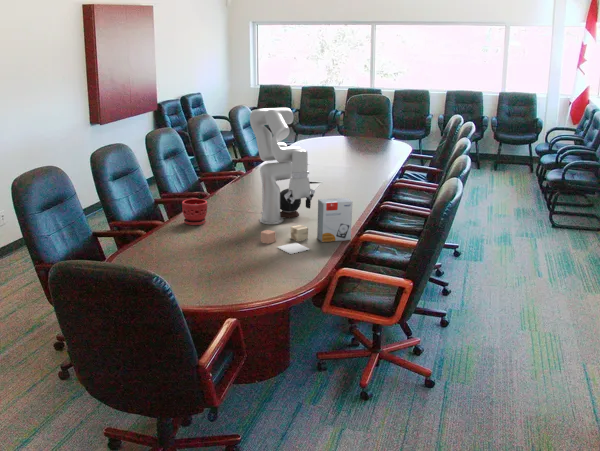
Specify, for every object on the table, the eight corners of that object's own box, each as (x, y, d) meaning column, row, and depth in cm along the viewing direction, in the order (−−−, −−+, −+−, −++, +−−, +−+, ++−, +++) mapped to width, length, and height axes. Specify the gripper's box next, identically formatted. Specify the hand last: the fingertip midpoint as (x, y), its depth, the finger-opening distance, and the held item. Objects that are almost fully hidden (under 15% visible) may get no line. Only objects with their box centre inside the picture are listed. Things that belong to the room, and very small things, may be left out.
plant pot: (205, 226, 342) (205, 204, 338) (180, 226, 342) (179, 204, 338) (209, 219, 354) (208, 198, 350) (185, 219, 354) (184, 197, 351)
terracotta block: (260, 241, 320) (260, 232, 318) (267, 239, 323) (267, 229, 322) (268, 244, 317) (268, 234, 315) (275, 241, 320) (275, 231, 319)
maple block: (290, 238, 325) (290, 226, 323) (300, 236, 328) (300, 224, 326) (297, 241, 320) (297, 229, 318) (307, 239, 323) (307, 227, 322)
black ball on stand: (273, 213, 365) (273, 187, 361) (294, 210, 370) (295, 185, 366) (282, 220, 354) (282, 193, 349) (304, 217, 359) (305, 190, 355)
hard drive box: (321, 242, 318) (321, 203, 312) (316, 237, 325) (317, 199, 319) (351, 240, 322) (352, 201, 316) (346, 235, 329) (347, 197, 323)
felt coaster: (277, 247, 311) (277, 246, 311) (296, 243, 317) (296, 242, 317) (290, 254, 302) (290, 253, 302) (309, 250, 308) (309, 248, 308)
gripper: (309, 171, 322) (309, 205, 327) (280, 175, 312) (280, 210, 317) (318, 174, 316) (318, 208, 321) (289, 178, 307) (289, 213, 311)
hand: (299, 209), depth 319 cm, fingers open, 9 cm apart
